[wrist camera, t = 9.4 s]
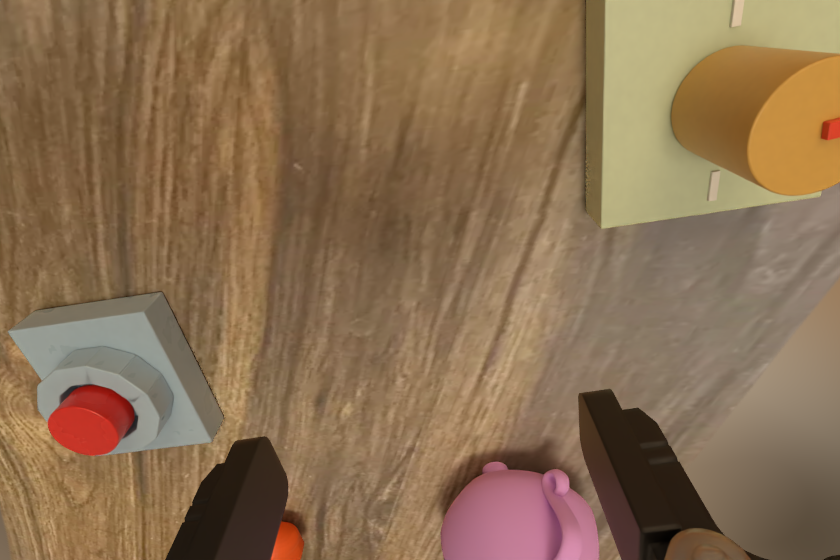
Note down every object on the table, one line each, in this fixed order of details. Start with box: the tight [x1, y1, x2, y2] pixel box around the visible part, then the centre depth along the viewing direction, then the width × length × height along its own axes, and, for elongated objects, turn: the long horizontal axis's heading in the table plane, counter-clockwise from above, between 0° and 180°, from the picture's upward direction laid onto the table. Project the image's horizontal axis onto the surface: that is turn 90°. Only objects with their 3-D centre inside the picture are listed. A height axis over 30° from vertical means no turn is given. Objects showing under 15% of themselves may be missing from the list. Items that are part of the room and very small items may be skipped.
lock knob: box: [671, 45, 840, 196], centre depth 18 cm, size 4×4×6 cm
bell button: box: [48, 385, 135, 456], centre depth 26 cm, size 4×4×2 cm
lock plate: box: [586, 0, 840, 229], centre depth 21 cm, size 10×10×3 cm
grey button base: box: [8, 292, 224, 456], centre depth 28 cm, size 10×8×4 cm
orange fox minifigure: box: [271, 521, 304, 560], centre depth 36 cm, size 5×8×12 cm
